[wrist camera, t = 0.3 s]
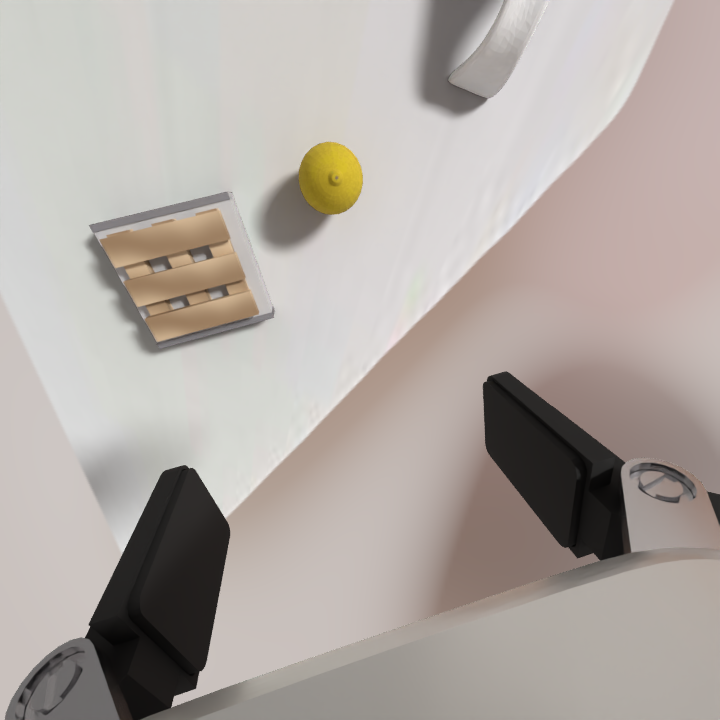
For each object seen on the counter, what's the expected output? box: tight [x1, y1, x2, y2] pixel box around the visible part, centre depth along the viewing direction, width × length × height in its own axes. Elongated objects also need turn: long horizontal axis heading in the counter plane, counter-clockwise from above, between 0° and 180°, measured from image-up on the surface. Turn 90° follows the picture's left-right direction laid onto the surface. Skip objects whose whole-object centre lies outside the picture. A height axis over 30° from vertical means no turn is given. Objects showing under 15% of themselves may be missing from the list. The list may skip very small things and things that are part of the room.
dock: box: [89, 192, 275, 349], centre depth 32 cm, size 12×12×3 cm
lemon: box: [299, 142, 363, 215], centre depth 29 cm, size 6×6×8 cm
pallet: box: [100, 208, 259, 342], centre depth 30 cm, size 10×10×2 cm
